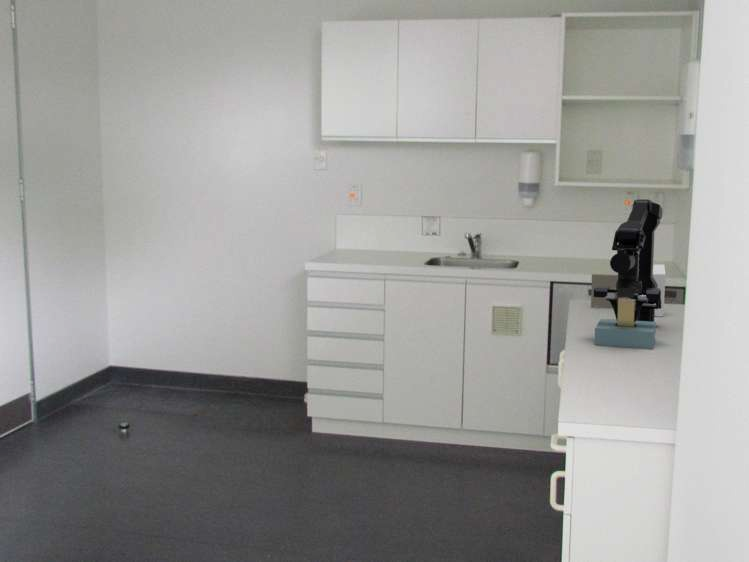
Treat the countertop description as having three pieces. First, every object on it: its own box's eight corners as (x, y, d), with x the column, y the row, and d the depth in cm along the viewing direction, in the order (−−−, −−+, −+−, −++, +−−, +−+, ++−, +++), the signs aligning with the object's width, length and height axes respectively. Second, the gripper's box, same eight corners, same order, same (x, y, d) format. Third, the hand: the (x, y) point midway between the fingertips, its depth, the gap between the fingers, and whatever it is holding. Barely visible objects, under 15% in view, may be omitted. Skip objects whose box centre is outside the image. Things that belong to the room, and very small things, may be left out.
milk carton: (663, 317, 272) (666, 262, 269) (642, 316, 273) (644, 262, 271) (660, 313, 279) (662, 260, 276) (639, 312, 280) (641, 260, 278)
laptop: (643, 306, 296) (644, 272, 294) (641, 311, 284) (643, 276, 283) (594, 303, 302) (595, 270, 301) (590, 308, 291) (591, 274, 289)
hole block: (600, 334, 243) (601, 318, 243) (655, 338, 237) (655, 321, 237) (594, 344, 229) (595, 328, 228) (652, 349, 223) (653, 331, 222)
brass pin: (618, 328, 235) (619, 298, 234) (634, 329, 234) (635, 299, 233) (617, 330, 231) (618, 300, 230) (633, 332, 229) (634, 301, 228)
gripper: (592, 271, 226) (590, 324, 228) (660, 274, 219) (658, 328, 221) (596, 267, 236) (594, 317, 238) (662, 269, 229) (659, 321, 232)
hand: (626, 321), depth 232 cm, fingers closed on brass pin, 4 cm apart
